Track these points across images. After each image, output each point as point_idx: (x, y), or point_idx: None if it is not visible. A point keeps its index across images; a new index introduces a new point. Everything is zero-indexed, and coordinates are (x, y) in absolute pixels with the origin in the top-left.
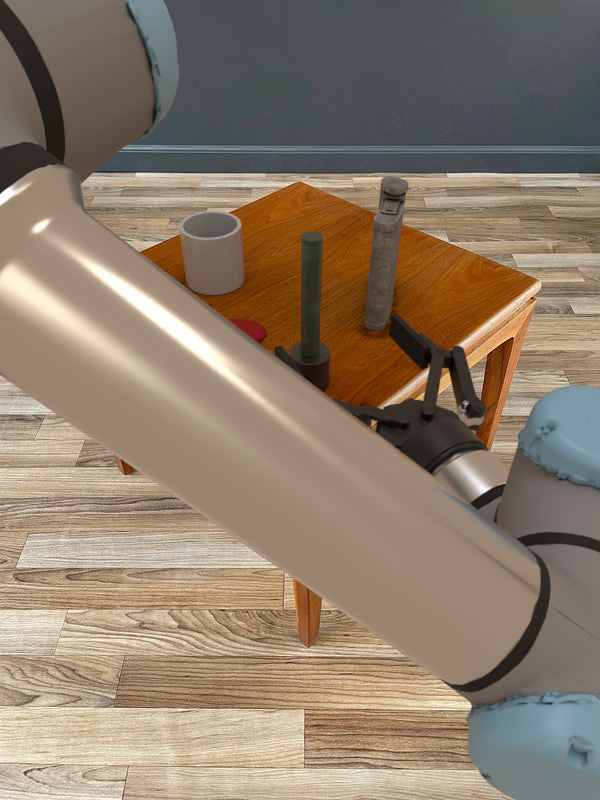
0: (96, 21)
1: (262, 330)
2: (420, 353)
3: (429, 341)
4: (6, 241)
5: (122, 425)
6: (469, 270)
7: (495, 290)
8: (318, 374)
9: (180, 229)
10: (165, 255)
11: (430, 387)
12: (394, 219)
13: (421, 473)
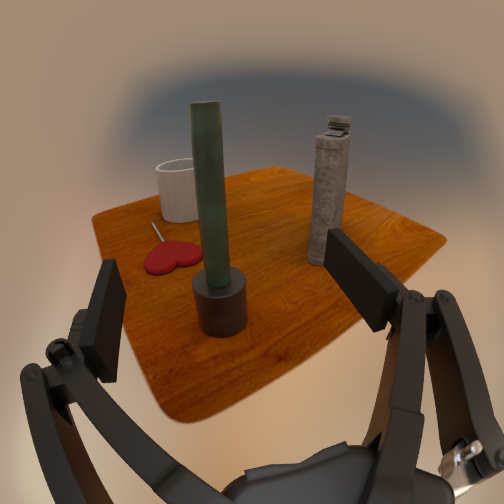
0: None
1: (197, 253)
2: (376, 301)
3: (393, 278)
4: None
5: None
6: (403, 223)
7: (425, 239)
8: (224, 311)
9: (156, 167)
10: None
11: (403, 412)
12: (338, 138)
13: None
